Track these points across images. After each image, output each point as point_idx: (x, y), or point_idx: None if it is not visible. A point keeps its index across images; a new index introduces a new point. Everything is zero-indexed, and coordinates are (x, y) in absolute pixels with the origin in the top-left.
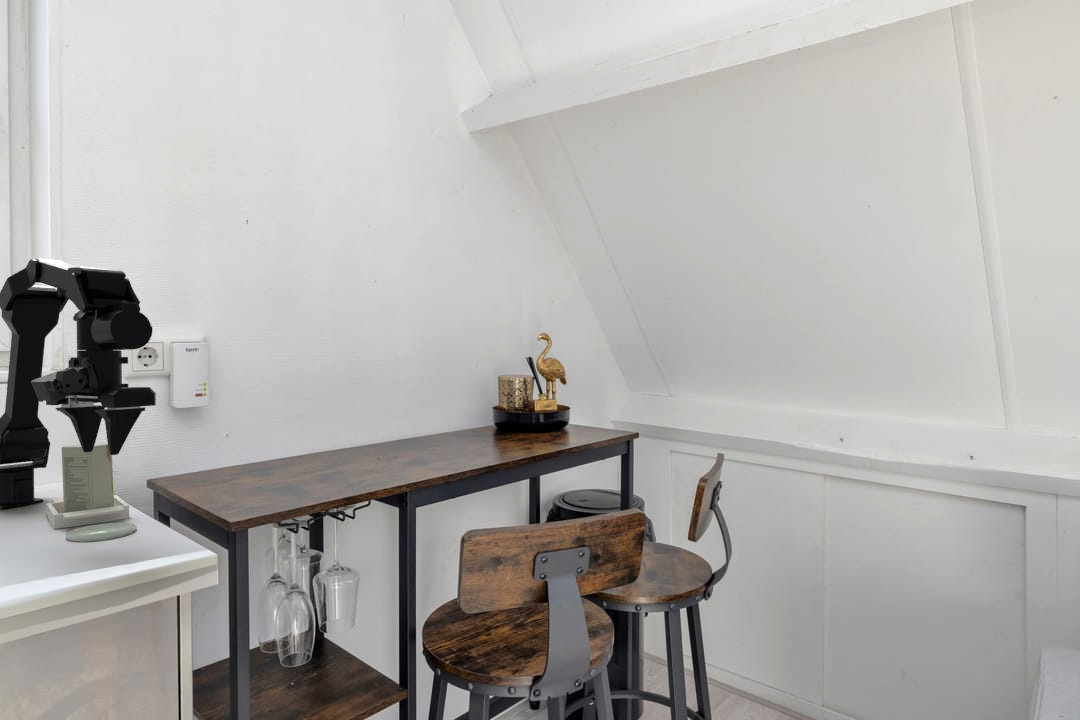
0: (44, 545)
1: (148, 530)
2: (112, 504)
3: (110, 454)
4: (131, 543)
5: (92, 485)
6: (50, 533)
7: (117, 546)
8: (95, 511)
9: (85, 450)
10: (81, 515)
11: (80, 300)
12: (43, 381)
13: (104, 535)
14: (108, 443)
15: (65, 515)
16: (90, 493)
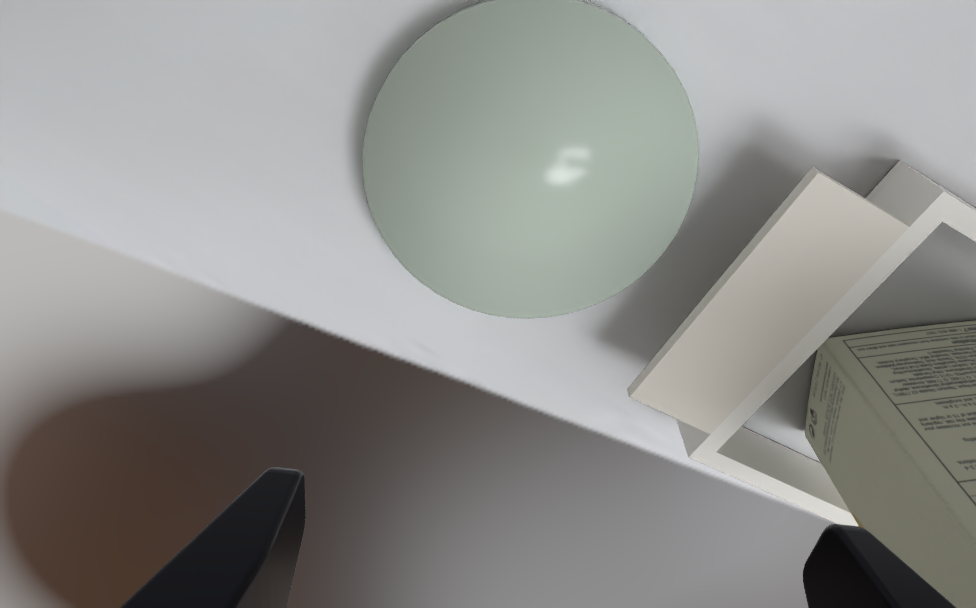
0: None
1: (365, 289)
2: (825, 464)
3: (293, 470)
4: (178, 80)
5: (914, 469)
6: (840, 86)
7: (179, 6)
8: (748, 320)
9: (836, 541)
10: (759, 240)
11: None
12: None
13: (389, 92)
14: (228, 571)
15: (852, 202)
16: (905, 430)
